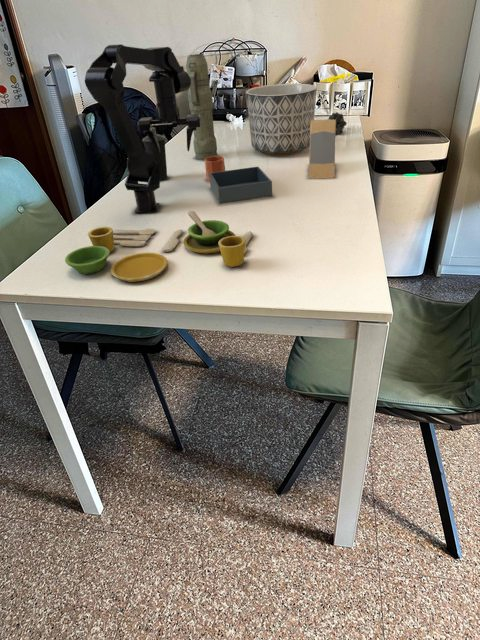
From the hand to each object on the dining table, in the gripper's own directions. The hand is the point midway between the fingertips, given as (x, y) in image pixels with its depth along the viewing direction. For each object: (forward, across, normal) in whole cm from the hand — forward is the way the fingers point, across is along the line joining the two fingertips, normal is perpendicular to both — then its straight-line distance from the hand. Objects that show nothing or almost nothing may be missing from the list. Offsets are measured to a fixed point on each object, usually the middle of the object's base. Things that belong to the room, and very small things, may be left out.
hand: (173, 152), depth 140 cm
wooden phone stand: (+12, -48, -9) cm, 50 cm away
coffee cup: (+12, -12, -8) cm, 19 cm away
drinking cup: (+12, +8, -13) cm, 20 cm away
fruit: (+12, -63, -63) cm, 90 cm away
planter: (+12, -37, -39) cm, 55 cm away
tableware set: (+12, -1, +48) cm, 50 cm away
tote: (+12, -20, +7) cm, 24 cm away
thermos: (+12, -7, -37) cm, 40 cm away
